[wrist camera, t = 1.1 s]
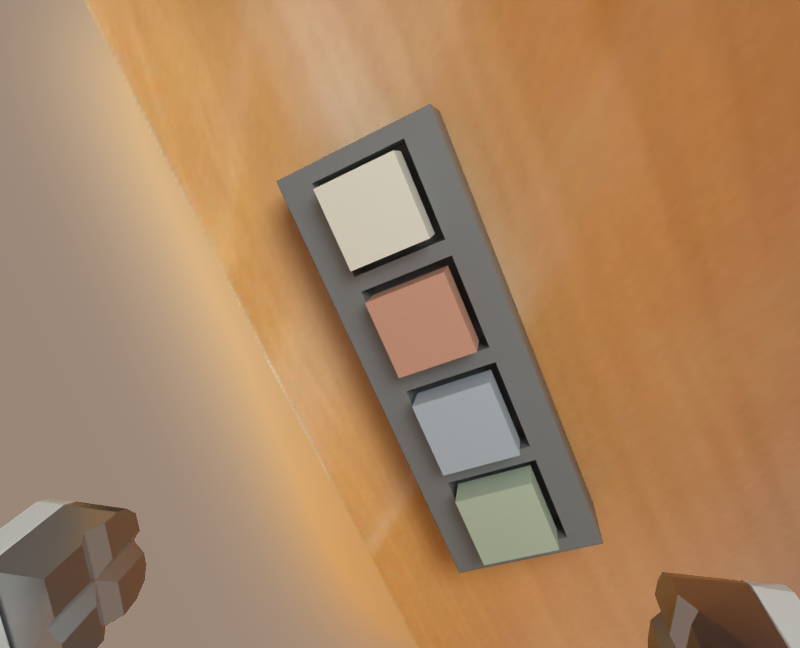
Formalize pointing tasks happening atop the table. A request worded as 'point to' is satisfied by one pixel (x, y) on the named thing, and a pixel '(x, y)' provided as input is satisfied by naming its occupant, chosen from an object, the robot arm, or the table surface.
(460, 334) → the terracotta key
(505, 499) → the sage key
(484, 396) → the light grey key
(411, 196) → the cream key
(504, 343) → the keypad
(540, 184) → the table surface
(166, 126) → the table surface
